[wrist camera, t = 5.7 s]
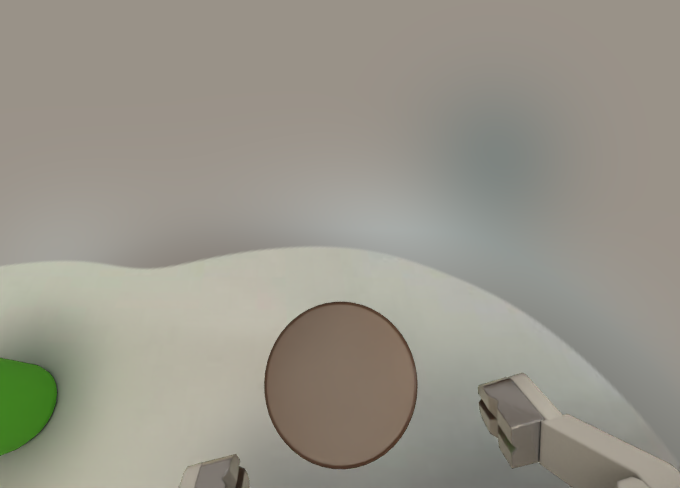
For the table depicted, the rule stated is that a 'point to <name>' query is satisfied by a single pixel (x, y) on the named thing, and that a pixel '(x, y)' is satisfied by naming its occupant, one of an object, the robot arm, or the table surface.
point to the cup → (23, 402)
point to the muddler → (340, 385)
